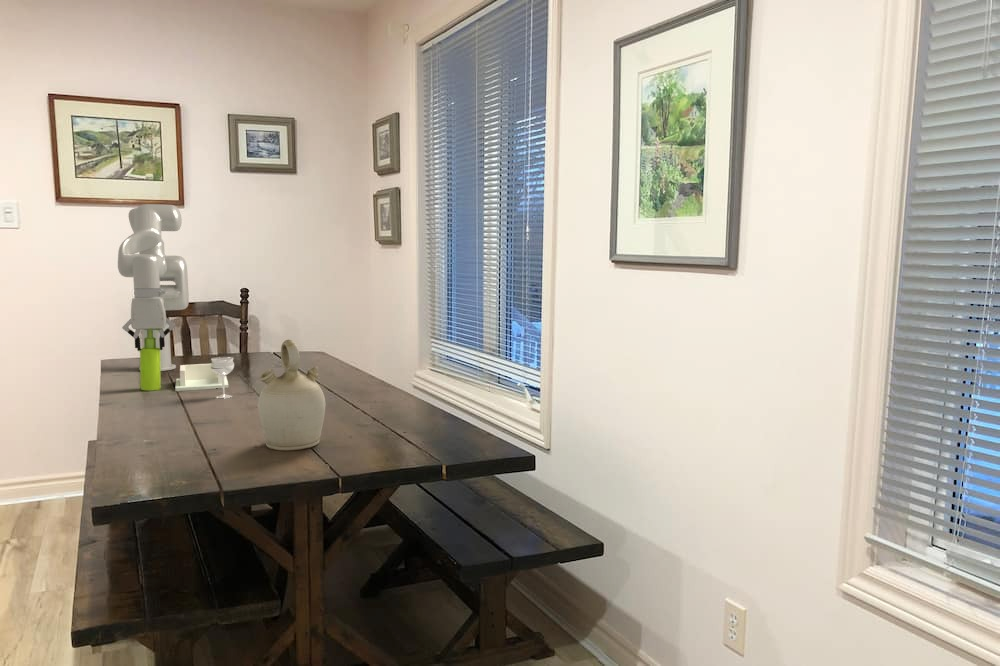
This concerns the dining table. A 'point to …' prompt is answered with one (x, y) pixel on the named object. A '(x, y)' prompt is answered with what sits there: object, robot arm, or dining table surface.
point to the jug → (291, 404)
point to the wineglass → (222, 369)
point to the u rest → (199, 378)
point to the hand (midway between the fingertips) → (150, 349)
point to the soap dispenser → (150, 363)
